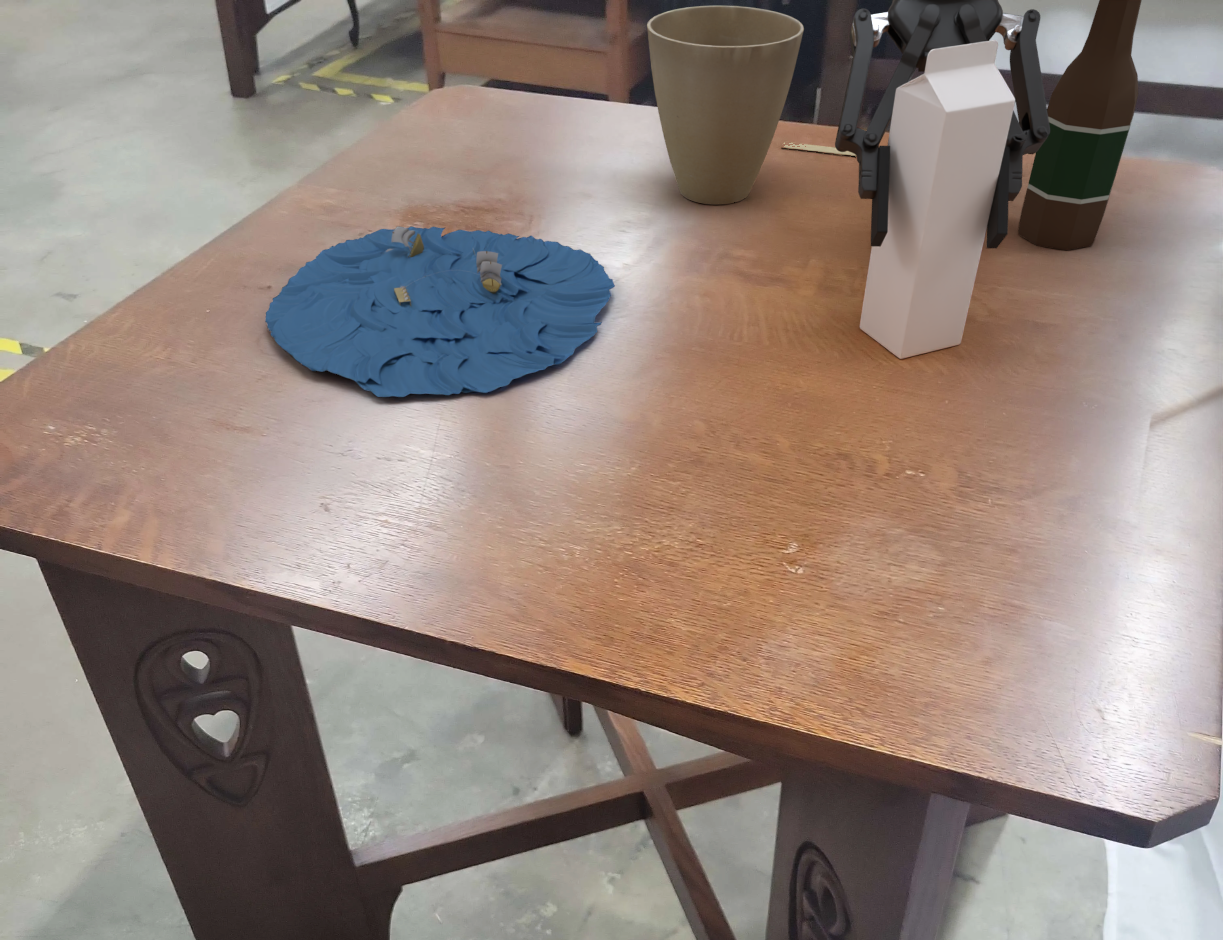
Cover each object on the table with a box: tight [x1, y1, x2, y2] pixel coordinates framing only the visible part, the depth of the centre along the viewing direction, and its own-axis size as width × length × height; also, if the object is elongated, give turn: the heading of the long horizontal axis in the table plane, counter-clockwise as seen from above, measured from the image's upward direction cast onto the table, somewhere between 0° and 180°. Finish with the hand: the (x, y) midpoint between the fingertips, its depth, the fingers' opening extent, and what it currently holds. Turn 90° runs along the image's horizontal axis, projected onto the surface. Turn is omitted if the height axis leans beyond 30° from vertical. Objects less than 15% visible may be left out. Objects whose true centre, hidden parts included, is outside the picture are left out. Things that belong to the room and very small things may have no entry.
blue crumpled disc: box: [264, 225, 616, 398], centre depth 91 cm, size 30×30×5 cm
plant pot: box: [646, 5, 805, 206], centre depth 107 cm, size 15×15×16 cm
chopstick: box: [783, 142, 857, 158], centre depth 119 cm, size 24×2×1 cm, turn 69°
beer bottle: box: [1017, 0, 1142, 251], centre depth 95 cm, size 8×8×24 cm
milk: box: [859, 39, 1016, 360], centre depth 81 cm, size 6×6×22 cm
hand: (937, 239), depth 79 cm, fingers closed on milk, 8 cm apart
